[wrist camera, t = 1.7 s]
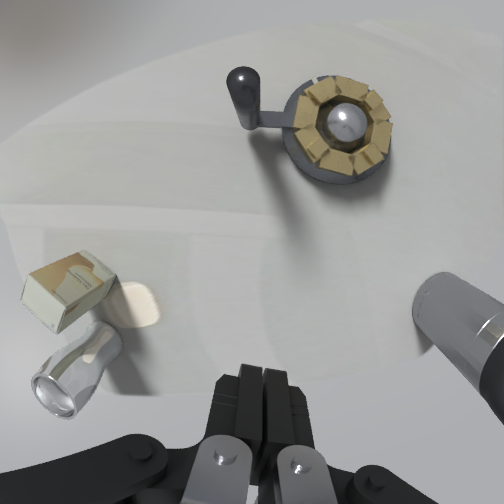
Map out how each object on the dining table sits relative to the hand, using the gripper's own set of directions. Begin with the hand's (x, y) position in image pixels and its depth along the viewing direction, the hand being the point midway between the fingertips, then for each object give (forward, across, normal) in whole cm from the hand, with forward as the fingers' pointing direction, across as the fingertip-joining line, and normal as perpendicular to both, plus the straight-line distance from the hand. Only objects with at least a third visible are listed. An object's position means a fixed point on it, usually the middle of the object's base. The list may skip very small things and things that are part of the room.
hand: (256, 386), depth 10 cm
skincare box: (+27, +21, +9) cm, 36 cm away
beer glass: (+27, +19, +19) cm, 38 cm away
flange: (+27, -6, -15) cm, 31 cm away
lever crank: (+25, -3, -15) cm, 29 cm away
